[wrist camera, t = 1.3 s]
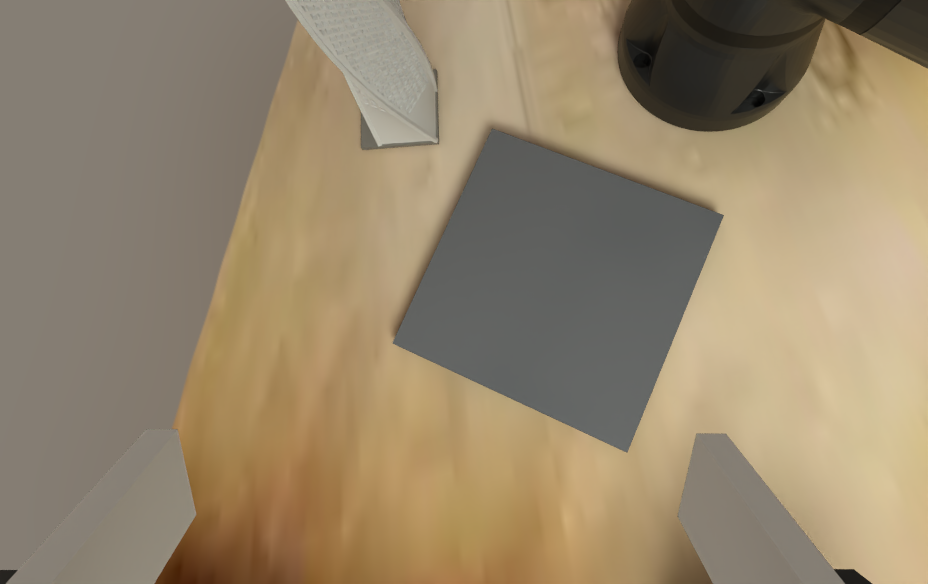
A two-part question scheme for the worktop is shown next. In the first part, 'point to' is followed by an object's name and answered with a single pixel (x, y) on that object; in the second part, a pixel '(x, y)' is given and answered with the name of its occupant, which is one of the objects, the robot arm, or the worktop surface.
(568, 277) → the charcoal board
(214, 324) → the worktop surface
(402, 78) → the skyscraper
